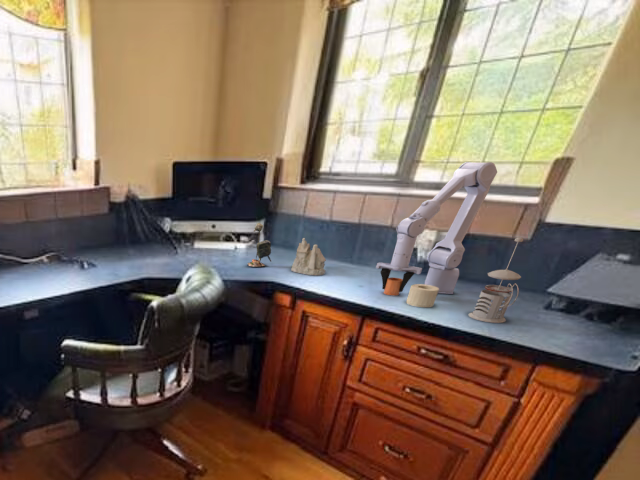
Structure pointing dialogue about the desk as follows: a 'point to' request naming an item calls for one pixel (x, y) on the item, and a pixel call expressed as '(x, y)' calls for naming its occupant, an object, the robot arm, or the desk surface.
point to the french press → (496, 296)
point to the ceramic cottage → (308, 260)
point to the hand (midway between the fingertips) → (392, 289)
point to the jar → (422, 295)
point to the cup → (393, 286)
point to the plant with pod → (261, 249)
